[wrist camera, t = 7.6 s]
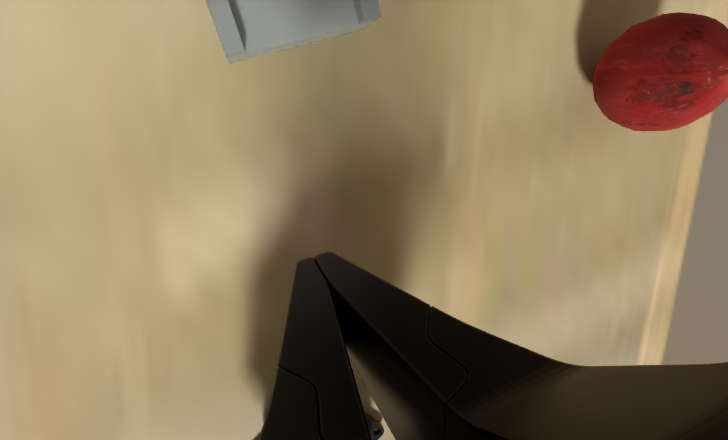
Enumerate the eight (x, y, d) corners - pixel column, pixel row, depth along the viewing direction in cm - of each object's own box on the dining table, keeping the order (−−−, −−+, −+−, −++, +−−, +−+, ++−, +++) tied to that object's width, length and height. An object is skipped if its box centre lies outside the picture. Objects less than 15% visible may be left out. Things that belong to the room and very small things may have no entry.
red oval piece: (567, 141, 24) (705, 157, 17) (553, 47, 22) (703, 17, 15) (641, 108, 25) (803, 109, 18) (634, 14, 23) (814, -29, 16)
